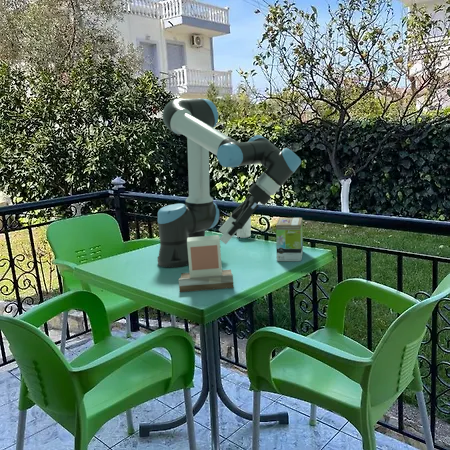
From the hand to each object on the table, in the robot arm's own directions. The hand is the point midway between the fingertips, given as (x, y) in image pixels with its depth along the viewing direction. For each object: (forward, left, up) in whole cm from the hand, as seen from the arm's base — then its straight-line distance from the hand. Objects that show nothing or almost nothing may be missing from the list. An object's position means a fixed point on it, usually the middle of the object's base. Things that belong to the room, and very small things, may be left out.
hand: (221, 236), depth 151 cm
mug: (-44, +36, -17) cm, 60 cm away
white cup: (-33, +58, -17) cm, 69 cm away
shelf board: (-5, -4, -16) cm, 18 cm away
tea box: (+5, +37, -17) cm, 41 cm away
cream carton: (-6, -3, -14) cm, 16 cm away
